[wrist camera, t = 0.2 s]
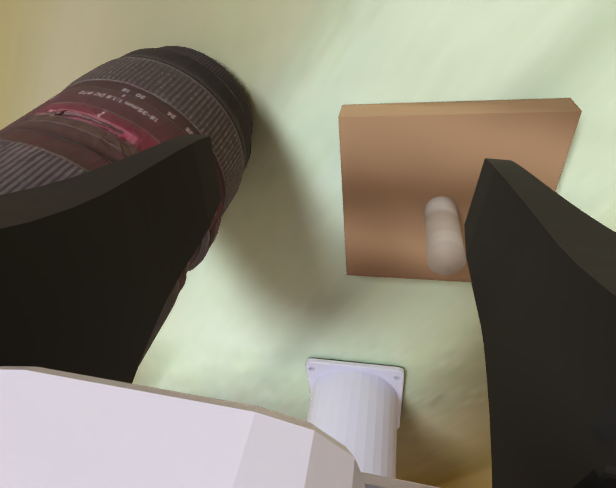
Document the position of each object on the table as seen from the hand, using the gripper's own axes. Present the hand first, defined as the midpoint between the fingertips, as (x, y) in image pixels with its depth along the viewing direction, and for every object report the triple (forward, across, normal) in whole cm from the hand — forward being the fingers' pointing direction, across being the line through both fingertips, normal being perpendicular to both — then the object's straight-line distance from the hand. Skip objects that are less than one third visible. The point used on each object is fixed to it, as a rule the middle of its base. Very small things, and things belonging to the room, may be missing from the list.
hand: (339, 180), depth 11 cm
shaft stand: (+10, -4, +6) cm, 13 cm away
